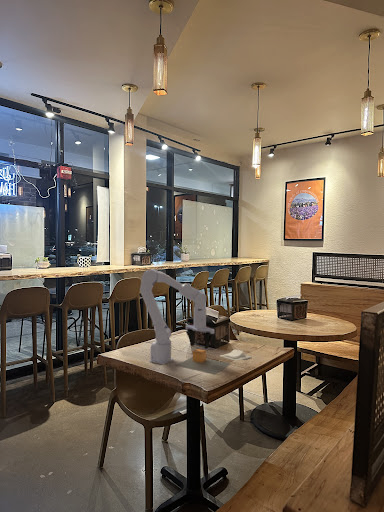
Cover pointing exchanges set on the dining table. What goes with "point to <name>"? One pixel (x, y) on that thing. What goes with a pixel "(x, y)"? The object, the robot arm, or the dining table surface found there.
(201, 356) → the orange panelled cube
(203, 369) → the board
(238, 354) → the light switch
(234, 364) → the dining table surface
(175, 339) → the dining table surface
